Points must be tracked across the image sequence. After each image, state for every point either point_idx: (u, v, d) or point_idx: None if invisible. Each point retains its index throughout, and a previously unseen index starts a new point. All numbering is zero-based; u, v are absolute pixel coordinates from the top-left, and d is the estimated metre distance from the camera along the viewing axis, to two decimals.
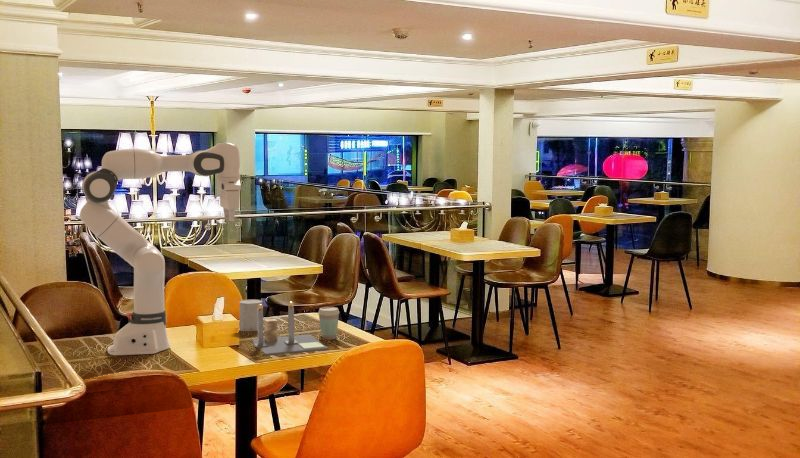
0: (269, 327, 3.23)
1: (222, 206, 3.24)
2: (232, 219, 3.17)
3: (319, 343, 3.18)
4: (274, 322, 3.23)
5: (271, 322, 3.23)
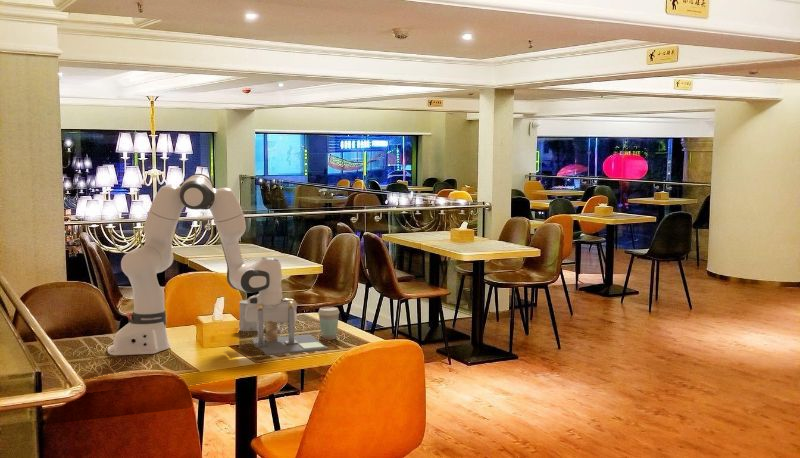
0: (269, 327, 3.23)
1: None
2: None
3: (319, 343, 3.18)
4: (274, 322, 3.23)
5: (271, 322, 3.23)
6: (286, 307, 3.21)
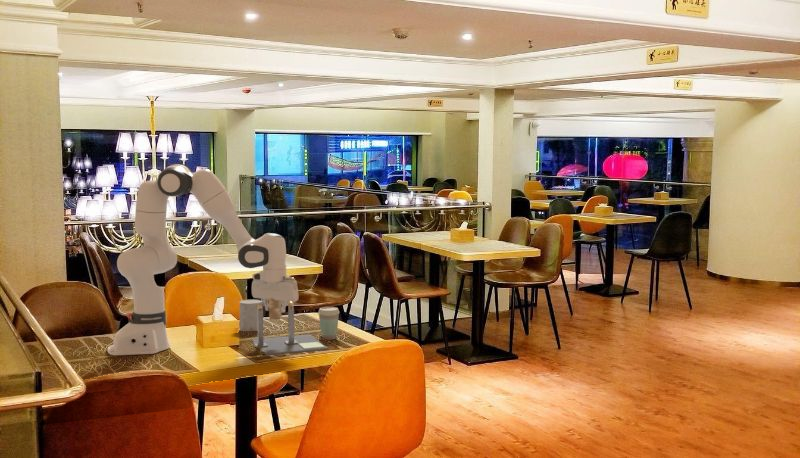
0: (271, 304, 3.15)
1: None
2: None
3: (319, 343, 3.18)
4: (276, 300, 3.15)
5: (273, 300, 3.15)
6: (286, 285, 3.12)
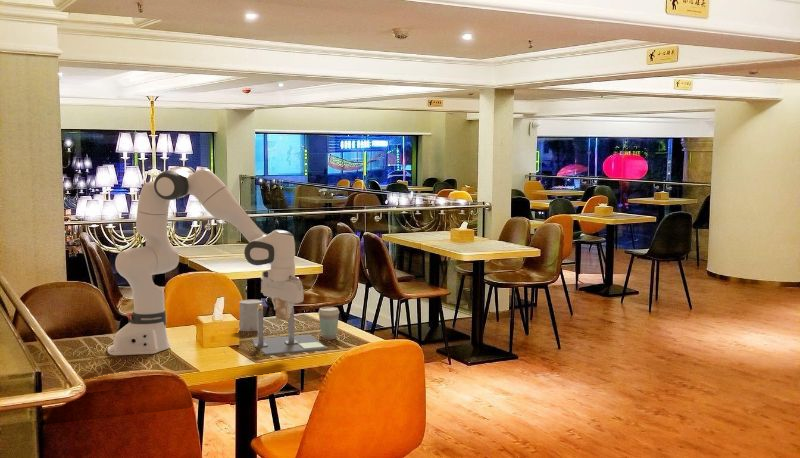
0: (278, 304, 3.04)
1: None
2: None
3: (319, 343, 3.18)
4: (283, 300, 3.03)
5: (280, 299, 3.03)
6: (290, 285, 2.98)
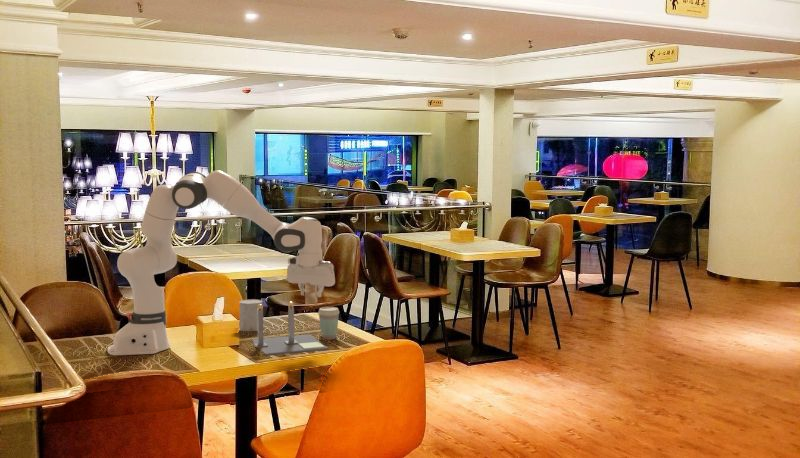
0: (307, 289, 3.12)
1: None
2: None
3: (319, 343, 3.18)
4: None
5: (309, 284, 3.11)
6: (322, 269, 3.08)
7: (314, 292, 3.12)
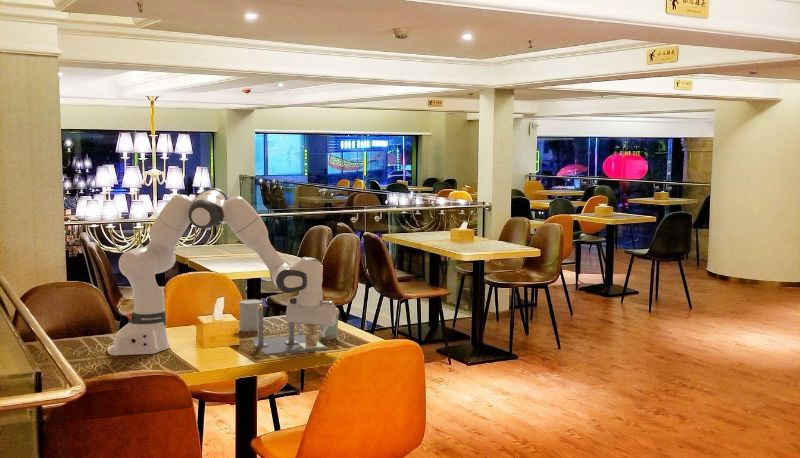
0: (308, 331, 3.14)
1: None
2: None
3: (319, 343, 3.18)
4: (313, 327, 3.13)
5: (310, 326, 3.13)
6: (324, 309, 3.10)
7: (314, 334, 3.14)
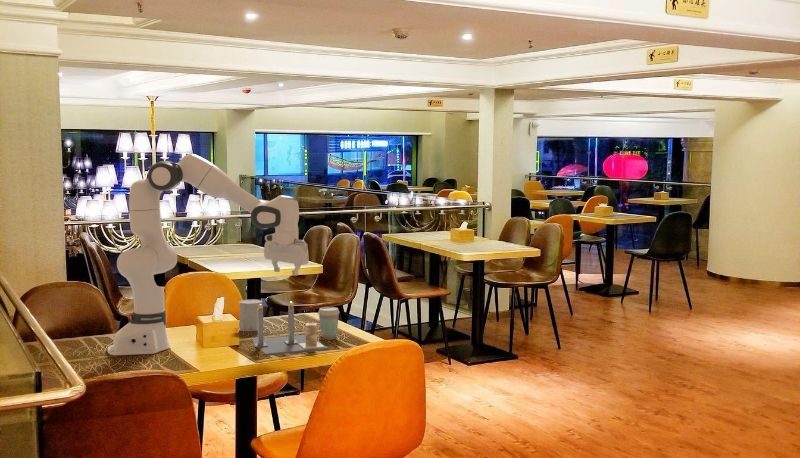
0: (308, 331, 3.14)
1: None
2: None
3: (319, 343, 3.18)
4: (313, 327, 3.13)
5: (310, 326, 3.13)
6: (296, 248, 3.12)
7: (314, 334, 3.14)
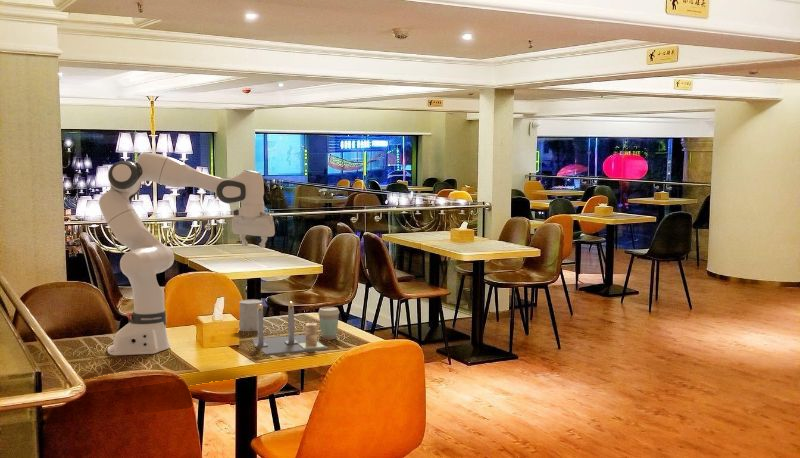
0: (308, 331, 3.14)
1: None
2: None
3: (319, 343, 3.18)
4: (313, 327, 3.13)
5: (310, 326, 3.13)
6: (262, 220, 3.20)
7: (314, 334, 3.14)
